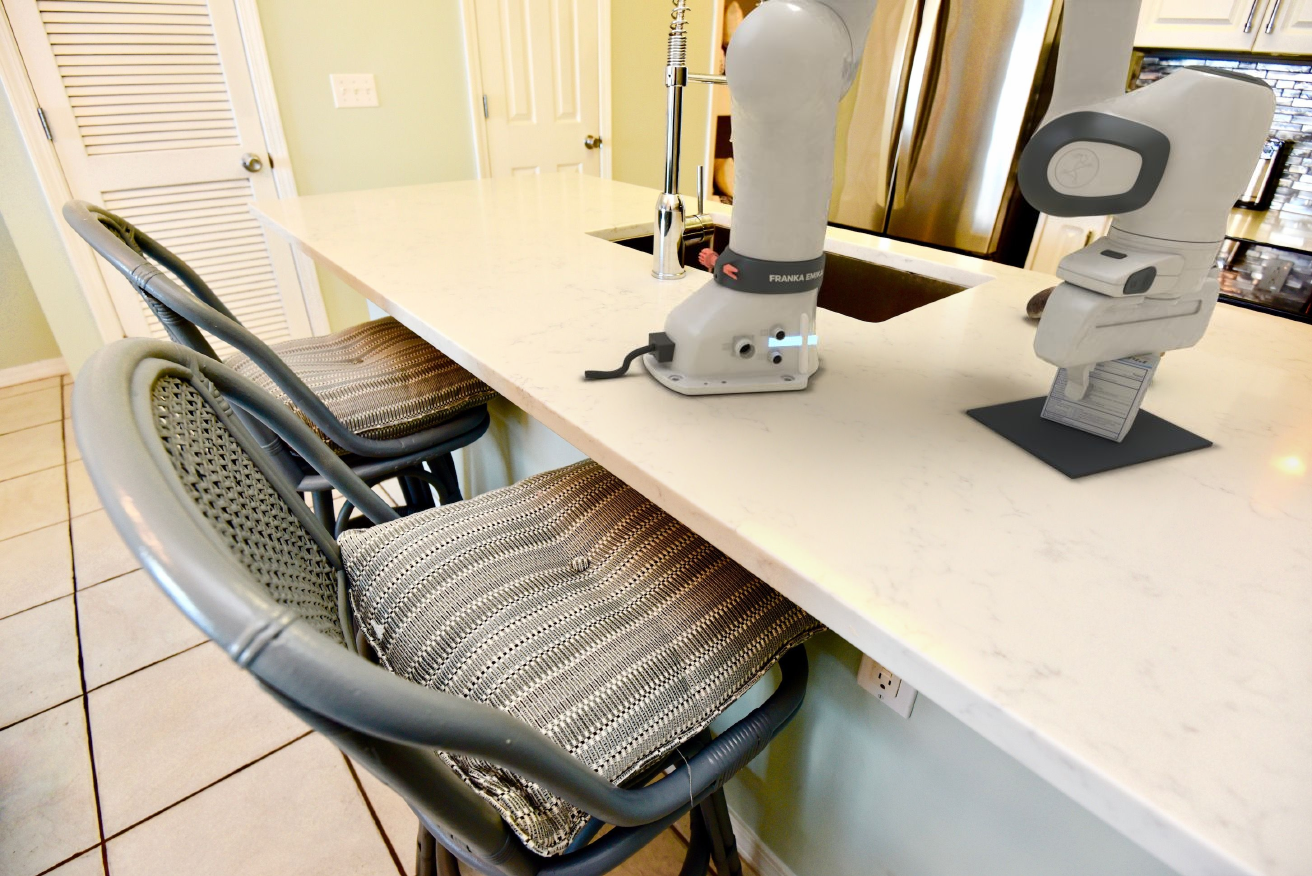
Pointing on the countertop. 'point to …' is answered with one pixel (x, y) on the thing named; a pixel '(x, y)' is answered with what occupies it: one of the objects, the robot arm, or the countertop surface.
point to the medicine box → (1104, 397)
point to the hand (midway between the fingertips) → (1099, 393)
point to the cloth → (1085, 438)
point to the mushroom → (1038, 303)
